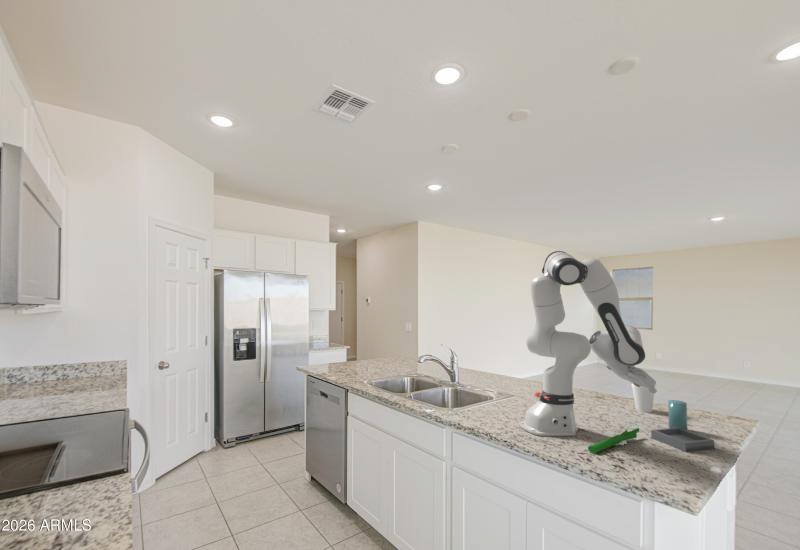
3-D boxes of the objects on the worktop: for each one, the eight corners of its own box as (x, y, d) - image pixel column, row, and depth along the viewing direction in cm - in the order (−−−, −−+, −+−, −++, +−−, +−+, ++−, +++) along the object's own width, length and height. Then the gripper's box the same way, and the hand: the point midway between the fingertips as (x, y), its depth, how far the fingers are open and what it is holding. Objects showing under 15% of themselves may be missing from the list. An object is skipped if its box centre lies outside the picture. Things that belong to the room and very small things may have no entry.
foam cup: (659, 414, 167) (658, 385, 168) (637, 412, 169) (636, 384, 170) (650, 408, 177) (649, 381, 178) (629, 406, 179) (628, 380, 179)
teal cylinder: (679, 432, 144) (678, 404, 145) (665, 427, 150) (664, 400, 150) (691, 431, 145) (690, 403, 146) (676, 426, 151) (675, 399, 152)
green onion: (597, 457, 122) (645, 437, 137) (597, 447, 123) (644, 428, 137) (584, 452, 127) (631, 433, 141) (583, 442, 127) (631, 424, 142)
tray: (685, 451, 126) (685, 443, 126) (651, 437, 138) (651, 429, 138) (714, 448, 129) (714, 440, 129) (678, 435, 141) (678, 427, 142)
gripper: (643, 363, 139) (670, 389, 138) (613, 355, 160) (636, 377, 159) (632, 375, 139) (659, 401, 138) (603, 365, 159) (626, 388, 159)
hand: (646, 388), depth 149 cm, fingers open, 8 cm apart
